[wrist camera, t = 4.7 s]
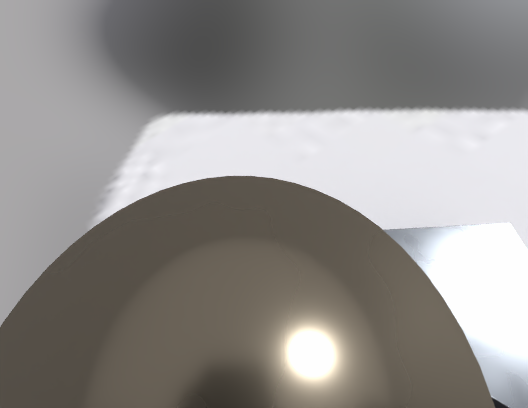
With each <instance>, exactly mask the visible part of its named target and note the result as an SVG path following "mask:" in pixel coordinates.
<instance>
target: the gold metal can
mask: <svg viewBox="0 0 528 408" xmlns="http://www.w3.org/2000/svg"><path fill="white" fill-rule="evenodd" d="M0 408H495V406H494V403H493V400H492V398H491V395H490V392H489V389H488V387H487V384H486V381H485V378H484V376H483V373H482V370H481V367H480V365H479V363H478V361H477V359H476V357H475V355H474V353H473V351H472V348H471V346H470V344H469V342H468V340H467V338H466V336H465V334H464V332H463V330H462V328H461V326H460V325H459V323H458V321H457V320H456V318H455V316H454V315H453V313H452V311H451V310H450V308H449V306H448V305H447V303H446V301H445V300H444V298H443V297H442V295H441V294H440V292H439V291H438V290H437V288H436V287H435V286H434V284H433V283H432V282H431V280H430V279H429V278H428V276H427V275H426V274H425V272H424V271H423V270H422V269H421V267H420V266H419V265H418V264H417V263H416V262H415V261H414V260H413V259H412V258H411V256H410V255H409V254H408V253H407V252H406V251H405V250H404V249H403V248H402V247H401V246H400V245H399V244H398V243H397V242H396V241H395V240H394V239H392V238H391V237H390V236H389V235H388V234H387V233H386V232H385V231H384V230H382V229H381V228H380V227H379V226H377V225H376V224H375V223H373V222H372V221H370V220H369V219H368V218H366V217H365V216H364V215H362V214H361V213H360V212H358V211H356V210H354V209H353V208H351V207H349V206H348V205H346V204H344V203H342V202H341V201H339V200H337V199H335V198H333V197H330V196H328V195H326V194H324V193H321V192H319V191H317V190H314V189H311V188H308V187H305V186H302V185H299V184H296V183H292V182H287V181H283V180H278V179H273V178H264V177H255V176H225V177H216V178H206V179H202V180H197V181H192V182H187V183H183V184H180V185H177V186H173V187H170V188H167V189H164V190H161V191H159V192H156V193H154V194H152V195H149V196H147V197H145V198H142V199H140V200H138V201H136V202H134V203H132V204H130V205H129V206H127V207H125V208H123V209H121V210H119V211H117V212H116V213H114V214H113V215H111V216H110V217H108V218H107V219H105V220H104V221H102V222H101V223H99V224H98V225H96V226H95V227H93V228H92V229H91V230H90V231H88V232H87V233H86V234H85V235H83V236H82V237H81V238H80V239H78V240H77V241H76V242H75V243H73V244H72V245H71V246H70V247H69V248H68V249H67V250H66V251H65V252H64V253H62V254H61V255H60V257H58V258H57V259H56V260H55V261H54V262H53V263H52V264H51V265H50V266H49V267H48V268H47V269H46V270H45V271H44V272H43V273H42V275H41V276H40V277H39V278H38V279H37V280H36V281H35V283H34V284H33V285H32V286H31V287H30V288H29V289H28V291H26V293H25V294H24V295H23V297H22V298H21V299H20V301H19V302H18V303H17V305H16V306H15V307H14V309H13V310H12V311H11V313H10V314H9V315H8V317H7V318H6V319H5V321H4V322H3V324H2V325H1V327H0Z"/></svg>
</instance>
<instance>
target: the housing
mask: <svg viewBox="0 0 528 408" xmlns="http://www.w3.org/2000/svg"><path fill="white" fill-rule="evenodd" d="M384 231H385V232H386V233H387V234H388V235H389V236H390V237H391V238H392V239H394V240H395V241H396V242H397V243H398V244H399V245H400V246H401V247H402V248H403V249H404V250H405V251H406V252H407V253H408V254H409V255H410V256H411V258H412V259H413V260H414V261H415V262H416V263H417V264H418V265H419V266H420V267H421V269H422V270H423V271H424V272H425V274H426V275H427V276H428V278H429V279H430V280H431V282H432V283H433V284H434V286H435V287H436V288H437V290H438V291H439V292H440V294H441V295H442V297H443V298H444V300H445V301H446V303H447V305H448V306H449V308H450V310H451V311H452V313H453V315H454V316H455V318H456V320H457V321H458V323H459V325H460V326H461V328H462V330H463V332H464V334H465V336H466V338H467V340H468V342H469V344H470V346H471V348H472V351H473V353H474V355H475V357H476V359H477V361H478V363H479V365H480V367H481V370H482V373H483V376H484V378H485V381H486V384H487V387H488V389H489V392H490V395H491V397H493V398H495V399H496V400H498V401H500V402H501V403H503V404H505V405H506V406H508V407H510V408H528V251H527V249H526V247H525V246H524V244H523V243H522V241H521V239H520V238H519V236H518V235H517V233H516V231H515V230H514V228H513V227H512V225H511V224H510V223H497V224H480V225H462V226H444V227H426V228H408V229H390V230H384Z"/></svg>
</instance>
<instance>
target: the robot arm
mask: <svg viewBox="0 0 528 408" xmlns="http://www.w3.org/2000/svg"><path fill="white" fill-rule="evenodd" d="M491 398H492V400H493V403H494V406H495V408H510V407H508V406H506V405H505V404H503V403H501V402H500V401H498V400H496V399H495V398H493V397H491Z"/></svg>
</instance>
